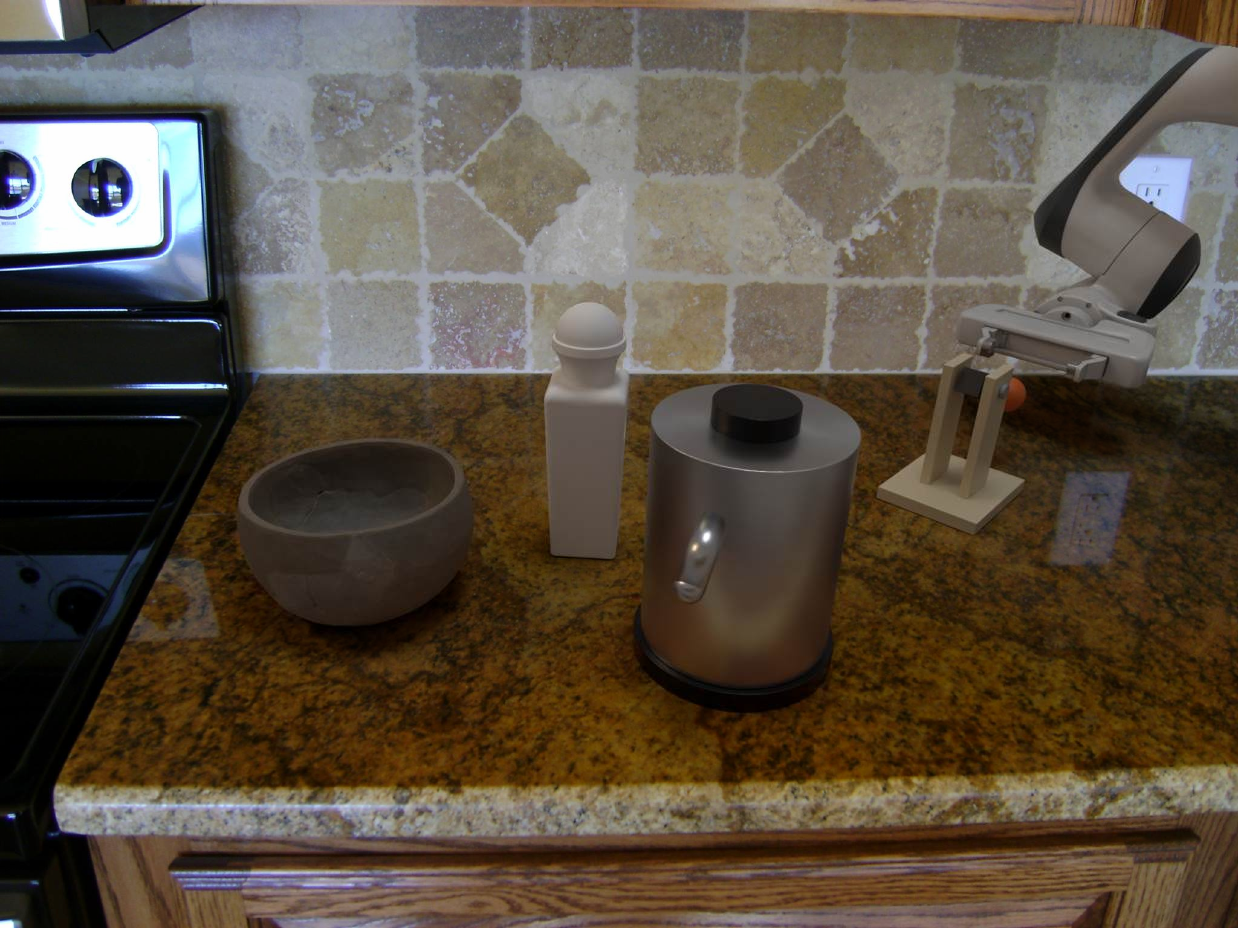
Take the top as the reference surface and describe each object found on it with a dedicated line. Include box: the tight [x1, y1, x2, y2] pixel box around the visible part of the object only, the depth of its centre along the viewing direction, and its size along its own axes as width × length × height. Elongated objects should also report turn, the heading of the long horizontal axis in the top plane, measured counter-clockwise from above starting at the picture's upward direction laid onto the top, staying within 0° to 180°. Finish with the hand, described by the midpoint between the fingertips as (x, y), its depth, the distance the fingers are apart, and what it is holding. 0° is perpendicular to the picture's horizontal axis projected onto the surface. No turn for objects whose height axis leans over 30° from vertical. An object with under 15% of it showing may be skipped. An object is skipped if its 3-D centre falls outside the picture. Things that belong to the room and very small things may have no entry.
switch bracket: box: [875, 352, 1026, 536], centre depth 90 cm, size 12×10×14 cm
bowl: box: [236, 437, 475, 627], centre depth 74 cm, size 17×18×10 cm
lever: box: [955, 366, 1027, 413], centre depth 92 cm, size 14×4×4 cm, turn 139°
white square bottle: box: [543, 301, 631, 560], centre depth 78 cm, size 6×6×22 cm
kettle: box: [632, 382, 862, 713], centre depth 66 cm, size 22×15×20 cm
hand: (1026, 361), depth 98 cm, fingers open, 8 cm apart
